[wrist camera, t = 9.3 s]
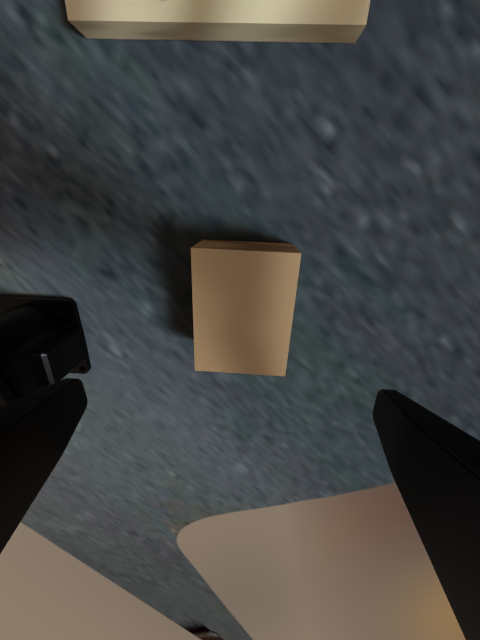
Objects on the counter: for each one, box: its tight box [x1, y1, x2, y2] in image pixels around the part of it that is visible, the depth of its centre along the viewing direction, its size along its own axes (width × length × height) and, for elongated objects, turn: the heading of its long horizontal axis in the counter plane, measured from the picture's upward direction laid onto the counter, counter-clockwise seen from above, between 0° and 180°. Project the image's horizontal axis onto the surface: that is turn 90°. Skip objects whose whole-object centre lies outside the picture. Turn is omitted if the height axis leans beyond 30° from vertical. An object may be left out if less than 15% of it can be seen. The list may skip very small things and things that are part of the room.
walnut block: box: [191, 239, 301, 376], centre depth 18 cm, size 6×8×4 cm
